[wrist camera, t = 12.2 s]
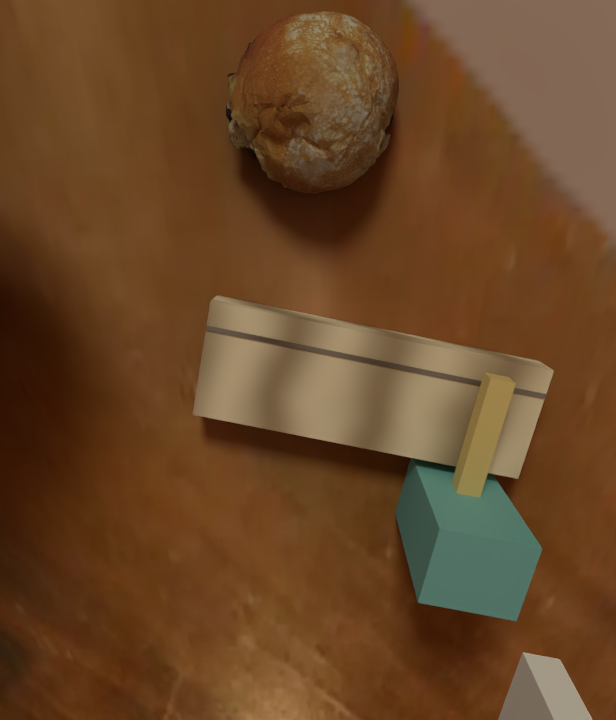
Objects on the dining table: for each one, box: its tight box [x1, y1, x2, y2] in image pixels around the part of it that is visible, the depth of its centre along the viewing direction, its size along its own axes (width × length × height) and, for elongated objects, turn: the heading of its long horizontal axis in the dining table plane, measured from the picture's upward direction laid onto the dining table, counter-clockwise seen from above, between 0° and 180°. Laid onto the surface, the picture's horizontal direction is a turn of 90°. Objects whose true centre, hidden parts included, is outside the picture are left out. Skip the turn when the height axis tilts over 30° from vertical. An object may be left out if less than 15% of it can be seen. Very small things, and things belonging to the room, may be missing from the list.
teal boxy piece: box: [395, 372, 542, 621], centre depth 36 cm, size 6×13×10 cm, turn 168°
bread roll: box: [226, 11, 399, 194], centre depth 33 cm, size 10×10×8 cm
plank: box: [193, 295, 554, 479], centre depth 38 cm, size 23×8×3 cm, turn 78°
